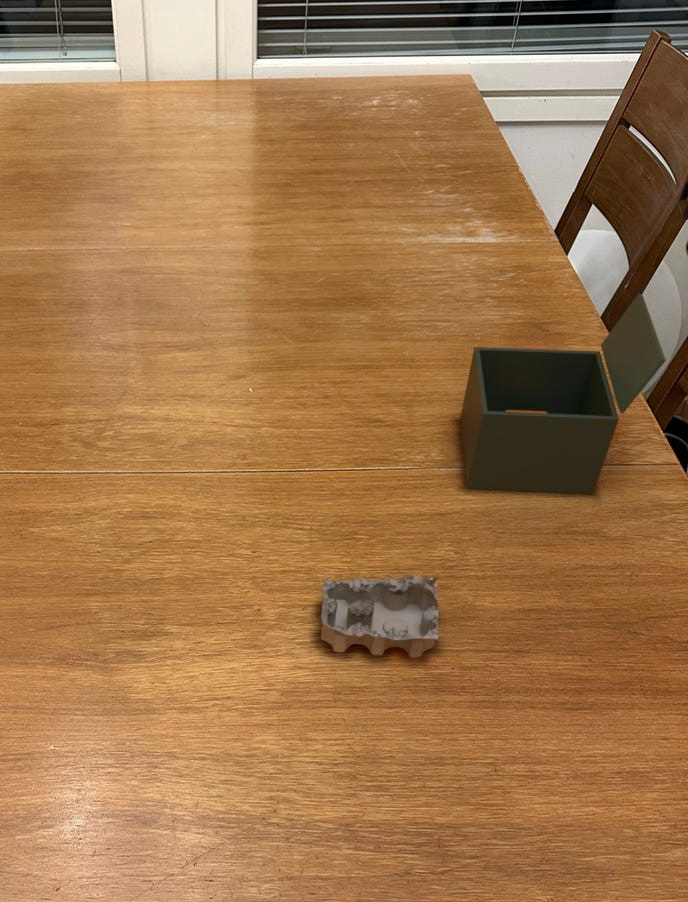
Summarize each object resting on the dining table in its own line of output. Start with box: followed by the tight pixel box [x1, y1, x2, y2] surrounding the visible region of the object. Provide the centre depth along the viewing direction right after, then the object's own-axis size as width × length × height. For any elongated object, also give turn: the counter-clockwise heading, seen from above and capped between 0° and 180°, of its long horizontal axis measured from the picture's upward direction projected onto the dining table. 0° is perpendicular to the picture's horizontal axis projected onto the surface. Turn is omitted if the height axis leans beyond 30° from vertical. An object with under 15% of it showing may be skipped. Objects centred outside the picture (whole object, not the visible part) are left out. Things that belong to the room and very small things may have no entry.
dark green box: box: [459, 346, 620, 495], centre depth 103 cm, size 13×12×10 cm
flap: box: [600, 293, 667, 414], centre depth 96 cm, size 6×12×1 cm
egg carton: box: [320, 575, 440, 659], centre depth 89 cm, size 11×8×4 cm
